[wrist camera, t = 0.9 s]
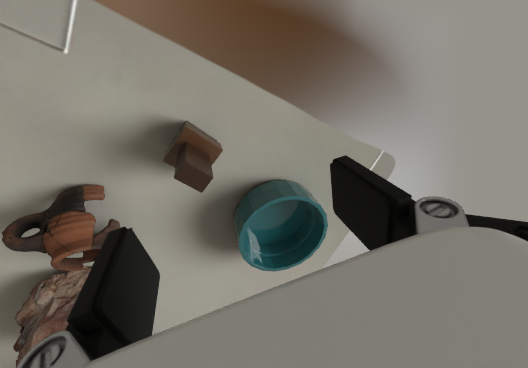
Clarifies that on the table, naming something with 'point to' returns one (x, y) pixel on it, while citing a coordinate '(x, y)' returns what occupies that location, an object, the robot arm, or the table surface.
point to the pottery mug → (62, 229)
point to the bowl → (279, 225)
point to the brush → (193, 156)
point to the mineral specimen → (48, 308)
